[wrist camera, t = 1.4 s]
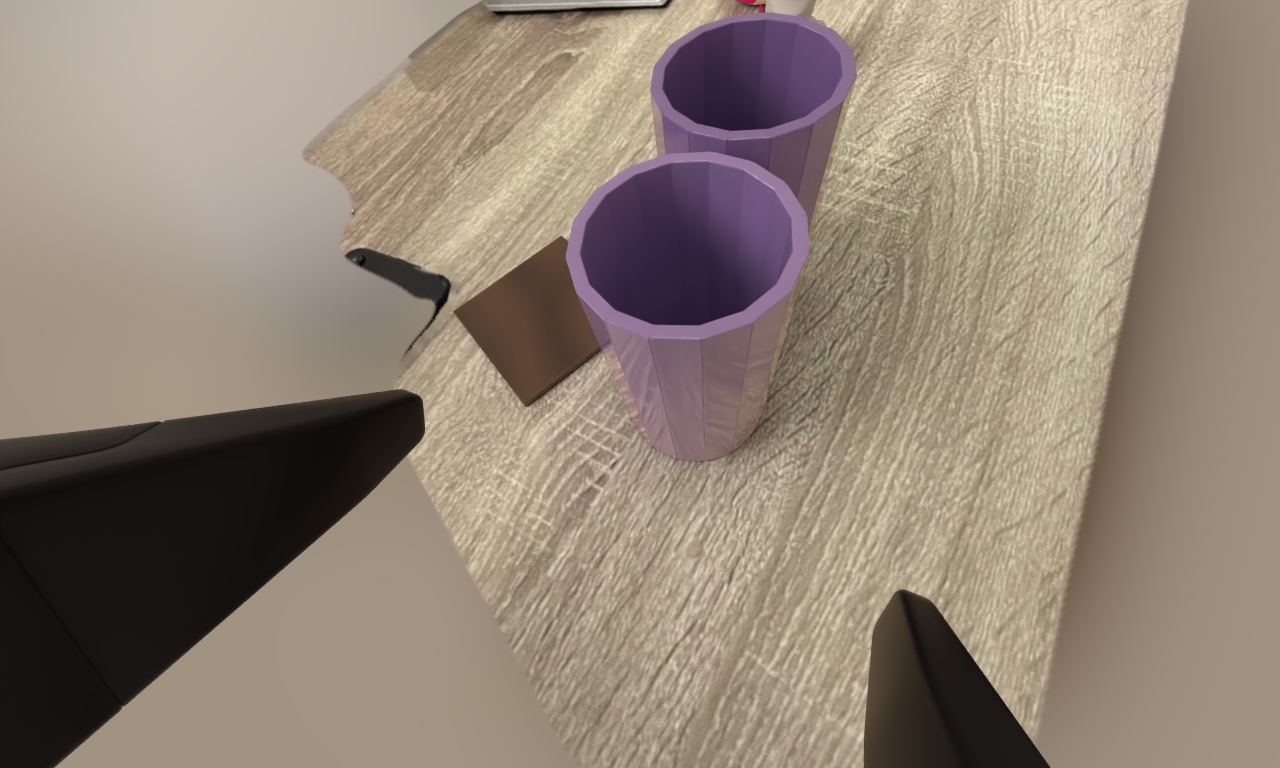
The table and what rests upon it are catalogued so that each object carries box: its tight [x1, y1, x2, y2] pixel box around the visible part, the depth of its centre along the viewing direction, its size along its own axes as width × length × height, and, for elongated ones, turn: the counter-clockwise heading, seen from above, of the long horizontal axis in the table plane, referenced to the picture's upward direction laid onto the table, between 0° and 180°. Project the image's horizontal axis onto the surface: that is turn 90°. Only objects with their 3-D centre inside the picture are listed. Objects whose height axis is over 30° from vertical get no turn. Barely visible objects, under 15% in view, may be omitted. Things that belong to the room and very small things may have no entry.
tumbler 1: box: [650, 12, 857, 242], centre depth 21 cm, size 7×7×12 cm
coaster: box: [454, 236, 601, 407], centre depth 27 cm, size 8×8×1 cm
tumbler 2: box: [566, 152, 810, 461], centre depth 18 cm, size 7×7×12 cm
